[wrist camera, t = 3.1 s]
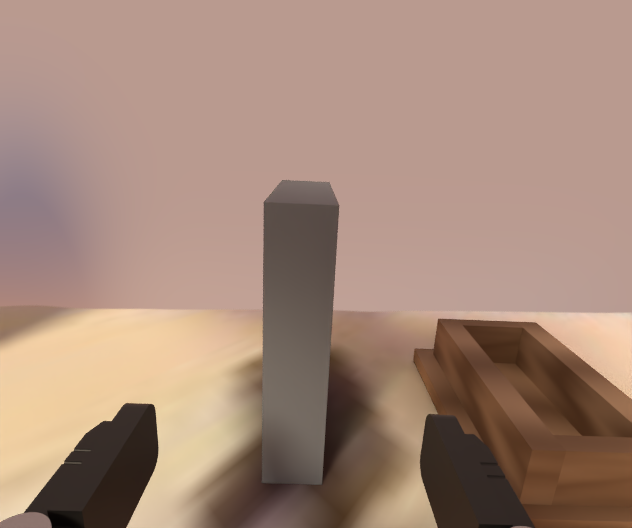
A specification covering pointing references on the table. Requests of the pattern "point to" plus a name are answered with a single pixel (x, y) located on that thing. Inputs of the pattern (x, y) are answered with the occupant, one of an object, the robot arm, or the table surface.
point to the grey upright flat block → (297, 328)
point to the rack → (537, 418)
